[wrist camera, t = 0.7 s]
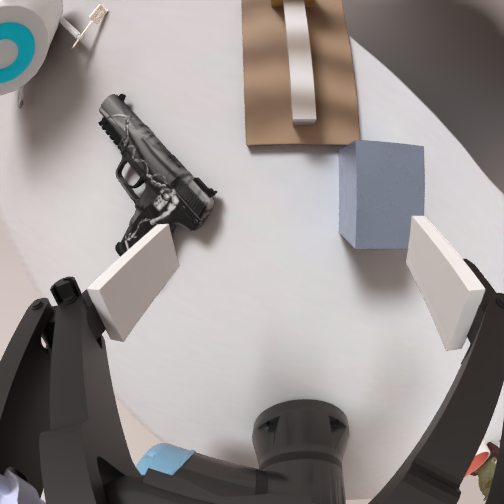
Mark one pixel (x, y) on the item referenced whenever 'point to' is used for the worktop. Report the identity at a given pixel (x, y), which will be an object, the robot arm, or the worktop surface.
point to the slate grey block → (380, 193)
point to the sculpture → (487, 470)
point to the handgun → (153, 177)
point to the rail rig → (298, 73)
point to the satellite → (29, 39)
